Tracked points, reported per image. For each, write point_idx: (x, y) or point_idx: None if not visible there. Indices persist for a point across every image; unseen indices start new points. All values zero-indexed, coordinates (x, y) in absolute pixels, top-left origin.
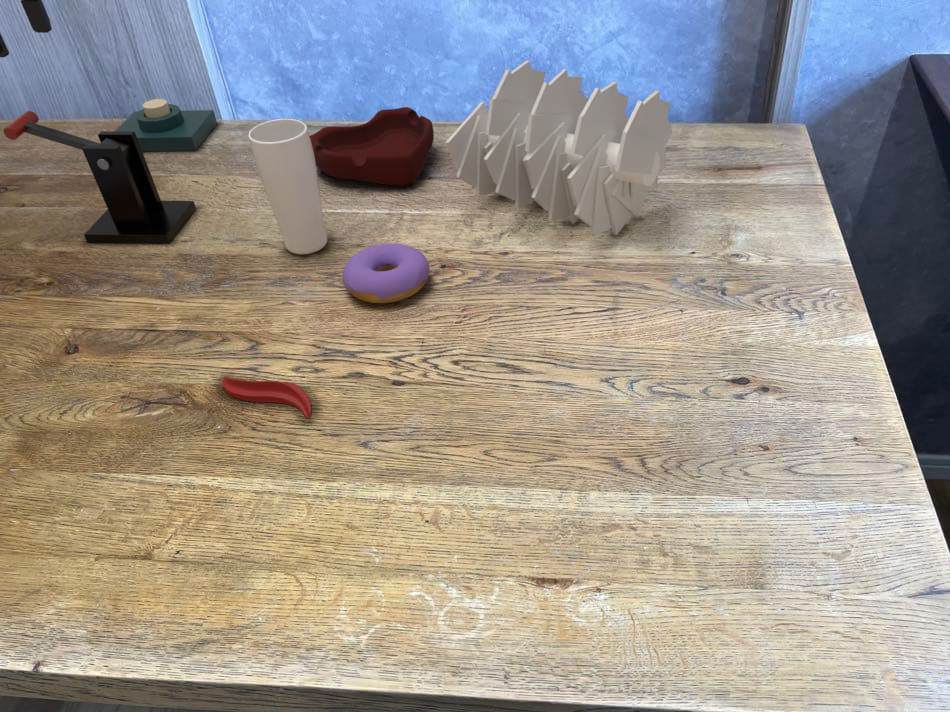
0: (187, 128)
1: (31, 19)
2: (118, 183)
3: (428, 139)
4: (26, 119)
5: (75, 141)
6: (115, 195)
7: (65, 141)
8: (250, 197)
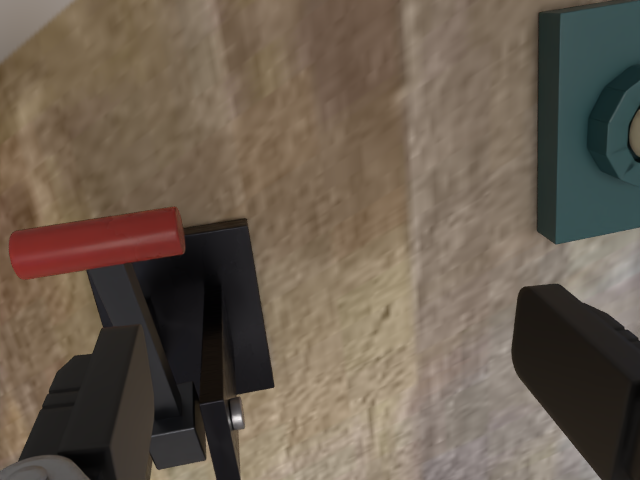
0: (604, 209)
1: (554, 333)
2: None
3: None
4: (119, 264)
5: None
6: None
7: None
8: (332, 443)
